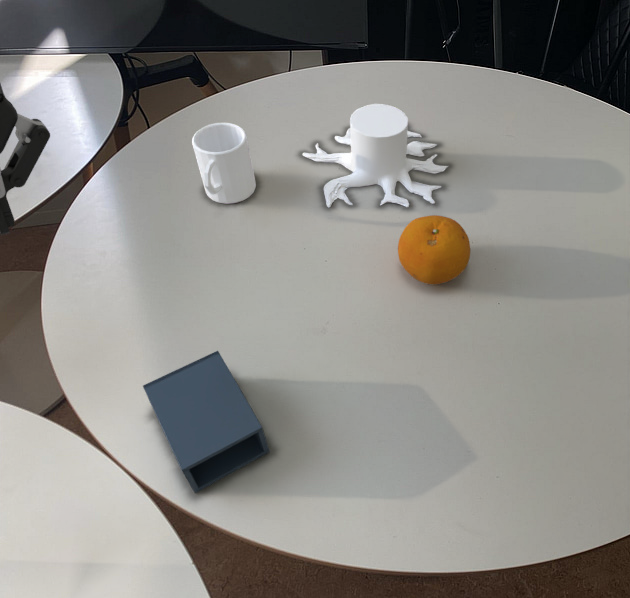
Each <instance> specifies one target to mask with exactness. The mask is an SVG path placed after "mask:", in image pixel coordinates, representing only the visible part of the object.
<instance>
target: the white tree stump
mask: <svg viewBox="0 0 630 598" xmlns="http://www.w3.org/2000/svg"><path fill="white" fill-rule="evenodd" d="M411 137H414V138H416V137H417V138H422V135H421V134H420V133H418V132H413V131H410V130H409V118H408V115H406V113H405V112H404V110H401V109H400V108H399V107H396V106H393V105H390V104H386V103H371V104H366V105H363V106H361V107H359V108H356V110H354V111H353V112H352V113H351V115H350V118H349V128H348V129H347V130H346V134H345V135H344V136H340V135H335V136H334V140H335V142H337V143H338V144H341V145H347V146H350V152H335V153H334V152H333V153H327V152H326V151H325V150H323V149H322V148H320V147H319V143H318V142H317V143H316V144H315V145H314V146H315V150H316V153H311V152H303V153H302V156H303V157H305V158H307V159H309V160H312V161H314V162H316V163H317V162H319V163H330V164H331V163H334V164H340V165H342V166H343V167H344V168H346V169H347V170H349V171H351V173H350V174H348V175H344V176H341V177H337V178H333V179H331V180H330V181H327V182H326V183H325V184H324V186H323V194H324V198H325V203H326V207H327V208H332V204H333V203H334V202H335V200H337V199H340V200H343V201H344V202H345V204H347V205H350V206H353V203H352V202H351V200H350V199H349V197H348V195H346V193H345V191H346V190H347V189H349V188H361V187H368V186H373V185H378V186H380V187H381V188H382V191H383V193H384V195H383V196H384V197H383V199H382V200H381V201H380V204H379V206H382V205H384V204H386V203H392V204H398V205H401V206H403V207H405V208H410V203H409V199H406V198H404V197H401V196H397V195H396V193H395V192H396V186H397V182H399V183H401V185H403V187H405V189H406V190H407V191H409V193H410V194H412V193H414V194H415V195H418V196H421V197H422V198H423V200H425V201H427V202H428V203H430V204H432V205H434V204H436V201H435V200H434V199H433V197H432V196H433V195H432V194H433V193H432V192H433V191H434V190H439V189H441V188H442V185H434V184H433V185H430V184H425V183H421V182H418V181H414V180H412V179H411V177H410V174H409V172H410V171H411V170H416V171H420V172H425V173H430V174H438V173H442V172H445V171H446V169H448V167H449V165H438V164H435V163H434V162H433V161H434V160H435V158H436V157H437V156H438V154H436V153H434V154H433V155H431V156H430V157H429V158H427V159H426V160H423V161H422V160H418V159H414V158H409V157H407V155H410V156H415V157H417V158H418V157H425V153H424V152H423V151H424V150H429V149H432V148H435V147H437V146H438V144H437V143H429V142H423V141H421V142H420V141H417V140H413V141H411V142H409V143H408V138H411Z"/></svg>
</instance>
